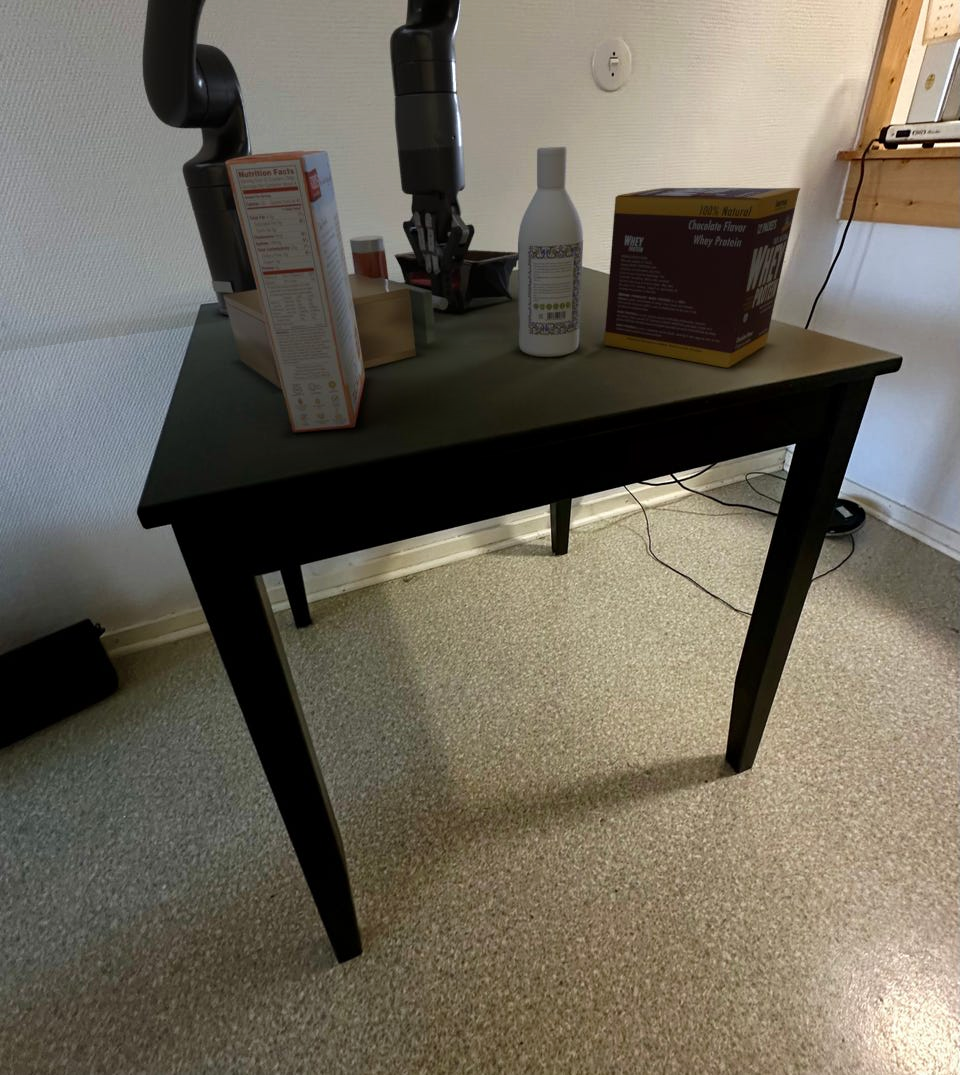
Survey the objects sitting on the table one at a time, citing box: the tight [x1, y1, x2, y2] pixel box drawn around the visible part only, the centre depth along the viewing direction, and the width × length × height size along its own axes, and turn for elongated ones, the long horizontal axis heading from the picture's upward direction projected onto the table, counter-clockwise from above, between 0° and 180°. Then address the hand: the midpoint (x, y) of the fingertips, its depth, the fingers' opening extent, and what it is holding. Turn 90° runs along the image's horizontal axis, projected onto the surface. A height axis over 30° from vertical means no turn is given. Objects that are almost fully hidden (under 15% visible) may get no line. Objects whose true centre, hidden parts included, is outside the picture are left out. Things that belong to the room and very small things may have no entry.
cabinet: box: [224, 273, 417, 390], centre depth 70 cm, size 17×14×8 cm
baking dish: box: [394, 249, 518, 312], centre depth 91 cm, size 14×18×10 cm
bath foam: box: [517, 146, 584, 358], centre depth 65 cm, size 7×7×20 cm
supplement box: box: [603, 187, 801, 369], centre depth 65 cm, size 10×15×16 cm
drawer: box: [375, 278, 448, 344], centre depth 73 cm, size 20×12×6 cm, turn 126°
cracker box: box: [225, 150, 366, 433], centre depth 53 cm, size 14×6×21 cm, turn 5°
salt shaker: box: [349, 235, 390, 280], centre depth 82 cm, size 4×4×11 cm
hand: (442, 303), depth 78 cm, fingers closed
